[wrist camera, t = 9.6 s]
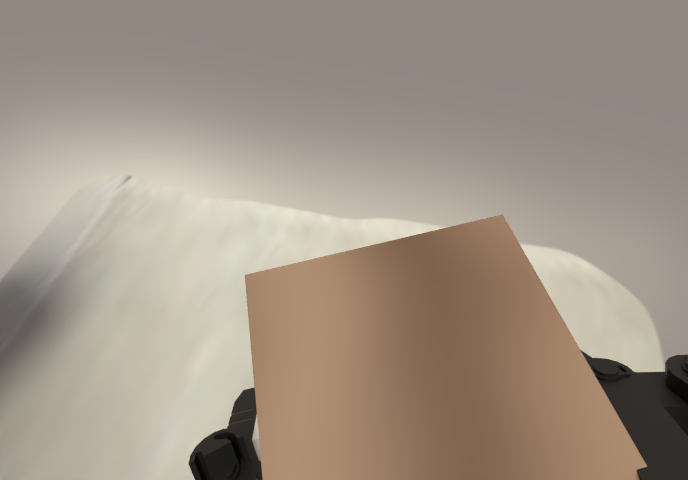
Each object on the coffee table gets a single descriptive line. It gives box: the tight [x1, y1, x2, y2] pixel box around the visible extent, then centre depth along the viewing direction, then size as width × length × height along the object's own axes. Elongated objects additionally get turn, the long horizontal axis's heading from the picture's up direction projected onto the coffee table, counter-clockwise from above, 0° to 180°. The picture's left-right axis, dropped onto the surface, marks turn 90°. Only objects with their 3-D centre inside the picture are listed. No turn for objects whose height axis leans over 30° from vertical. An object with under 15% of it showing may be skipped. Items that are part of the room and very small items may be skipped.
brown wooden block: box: [245, 215, 647, 480], centre depth 12 cm, size 7×7×11 cm
